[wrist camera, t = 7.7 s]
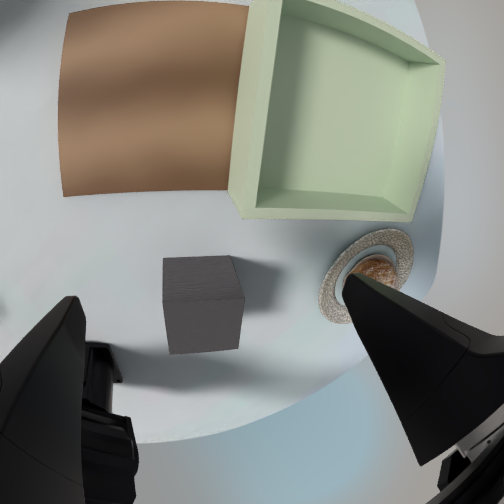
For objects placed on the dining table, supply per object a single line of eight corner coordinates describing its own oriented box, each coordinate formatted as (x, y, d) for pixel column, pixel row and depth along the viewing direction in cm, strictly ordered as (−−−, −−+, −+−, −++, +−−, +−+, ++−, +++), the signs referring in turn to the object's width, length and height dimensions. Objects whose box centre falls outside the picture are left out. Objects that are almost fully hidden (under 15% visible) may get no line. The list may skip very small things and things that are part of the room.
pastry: (391, 199, 23) (425, 221, 19) (414, 269, 29) (438, 292, 26) (292, 280, 25) (313, 316, 21) (340, 331, 31) (358, 359, 27)
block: (225, 304, 23) (238, 348, 19) (167, 307, 22) (170, 354, 18) (229, 254, 21) (244, 298, 17) (163, 257, 20) (162, 303, 15)
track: (380, 195, 21) (387, 199, 21) (68, 191, 15) (63, 197, 14) (405, 63, 15) (414, 64, 14) (74, 17, 9) (69, 13, 8)
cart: (375, 208, 20) (407, 232, 17) (226, 203, 17) (240, 233, 14) (406, 49, 13) (446, 50, 10) (251, -6, 10) (273, -31, 7)
